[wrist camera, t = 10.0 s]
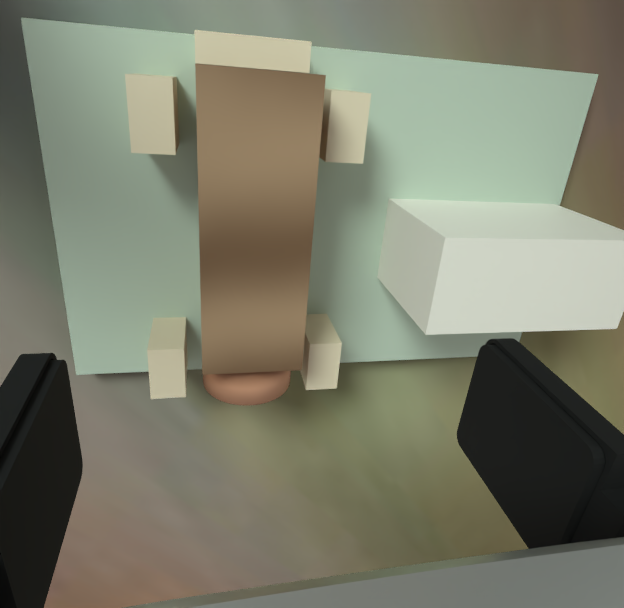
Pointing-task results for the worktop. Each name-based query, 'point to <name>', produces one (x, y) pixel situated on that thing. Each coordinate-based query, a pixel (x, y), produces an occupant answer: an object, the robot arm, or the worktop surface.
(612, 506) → the robot arm
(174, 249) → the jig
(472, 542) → the worktop surface
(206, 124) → the brown block
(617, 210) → the worktop surface
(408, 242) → the white rectangular brick
